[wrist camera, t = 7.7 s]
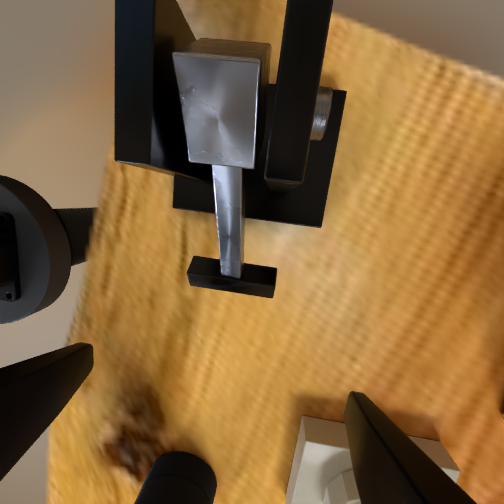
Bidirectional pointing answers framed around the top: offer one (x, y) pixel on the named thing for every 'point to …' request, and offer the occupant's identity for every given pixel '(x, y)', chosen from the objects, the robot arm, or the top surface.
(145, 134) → the bracket
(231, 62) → the lever
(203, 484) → the black bottle
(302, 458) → the button box
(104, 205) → the top surface
